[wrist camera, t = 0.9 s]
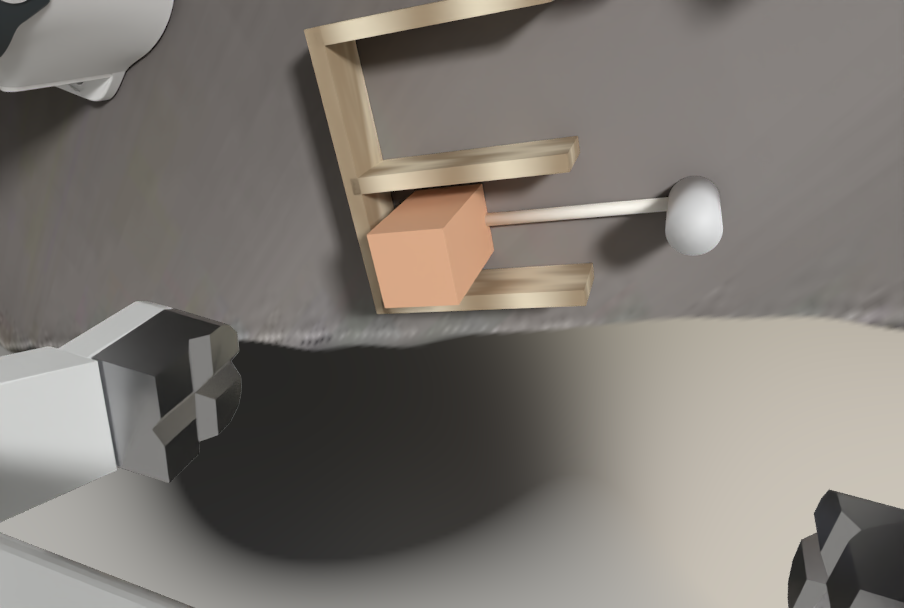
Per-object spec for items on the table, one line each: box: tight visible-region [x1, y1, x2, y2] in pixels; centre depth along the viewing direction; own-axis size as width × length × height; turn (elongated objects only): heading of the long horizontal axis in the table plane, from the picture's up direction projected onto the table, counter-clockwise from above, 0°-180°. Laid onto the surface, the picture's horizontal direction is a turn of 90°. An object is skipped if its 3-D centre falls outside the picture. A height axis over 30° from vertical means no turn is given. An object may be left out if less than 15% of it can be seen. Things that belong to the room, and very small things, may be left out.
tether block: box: [367, 176, 723, 308], centre depth 39 cm, size 18×4×8 cm, turn 101°
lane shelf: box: [304, 0, 594, 314], centre depth 41 cm, size 14×18×4 cm
